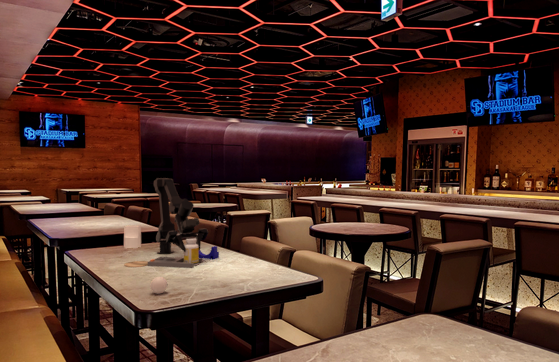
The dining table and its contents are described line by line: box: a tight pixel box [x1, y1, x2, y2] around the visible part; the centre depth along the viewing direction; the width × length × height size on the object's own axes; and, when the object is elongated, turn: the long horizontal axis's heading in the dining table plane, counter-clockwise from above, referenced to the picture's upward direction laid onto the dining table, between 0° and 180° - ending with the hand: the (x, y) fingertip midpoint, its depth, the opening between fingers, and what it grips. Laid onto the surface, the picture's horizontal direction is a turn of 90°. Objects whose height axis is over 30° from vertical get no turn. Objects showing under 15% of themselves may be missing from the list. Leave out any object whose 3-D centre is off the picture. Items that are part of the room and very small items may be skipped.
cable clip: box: [199, 245, 220, 260], centre depth 196 cm, size 12×4×6 cm, turn 69°
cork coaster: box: [124, 260, 149, 268], centre depth 180 cm, size 11×11×1 cm
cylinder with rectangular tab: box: [123, 224, 142, 249], centre depth 224 cm, size 9×9×12 cm
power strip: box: [147, 256, 203, 269], centre depth 181 cm, size 12×21×2 cm, turn 80°
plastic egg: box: [149, 276, 168, 295], centre depth 136 cm, size 8×6×6 cm
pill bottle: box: [183, 237, 200, 267], centre depth 179 cm, size 6×6×12 cm
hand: (192, 250), depth 178 cm, fingers closed on pill bottle, 6 cm apart
